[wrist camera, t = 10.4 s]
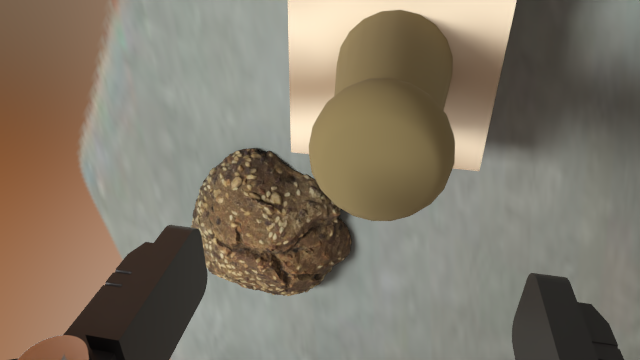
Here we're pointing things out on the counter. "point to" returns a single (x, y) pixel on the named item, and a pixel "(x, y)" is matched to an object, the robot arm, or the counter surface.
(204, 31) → the counter surface
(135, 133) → the counter surface
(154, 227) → the counter surface
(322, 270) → the bread roll
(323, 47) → the ash block
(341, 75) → the olive knobbed peg
